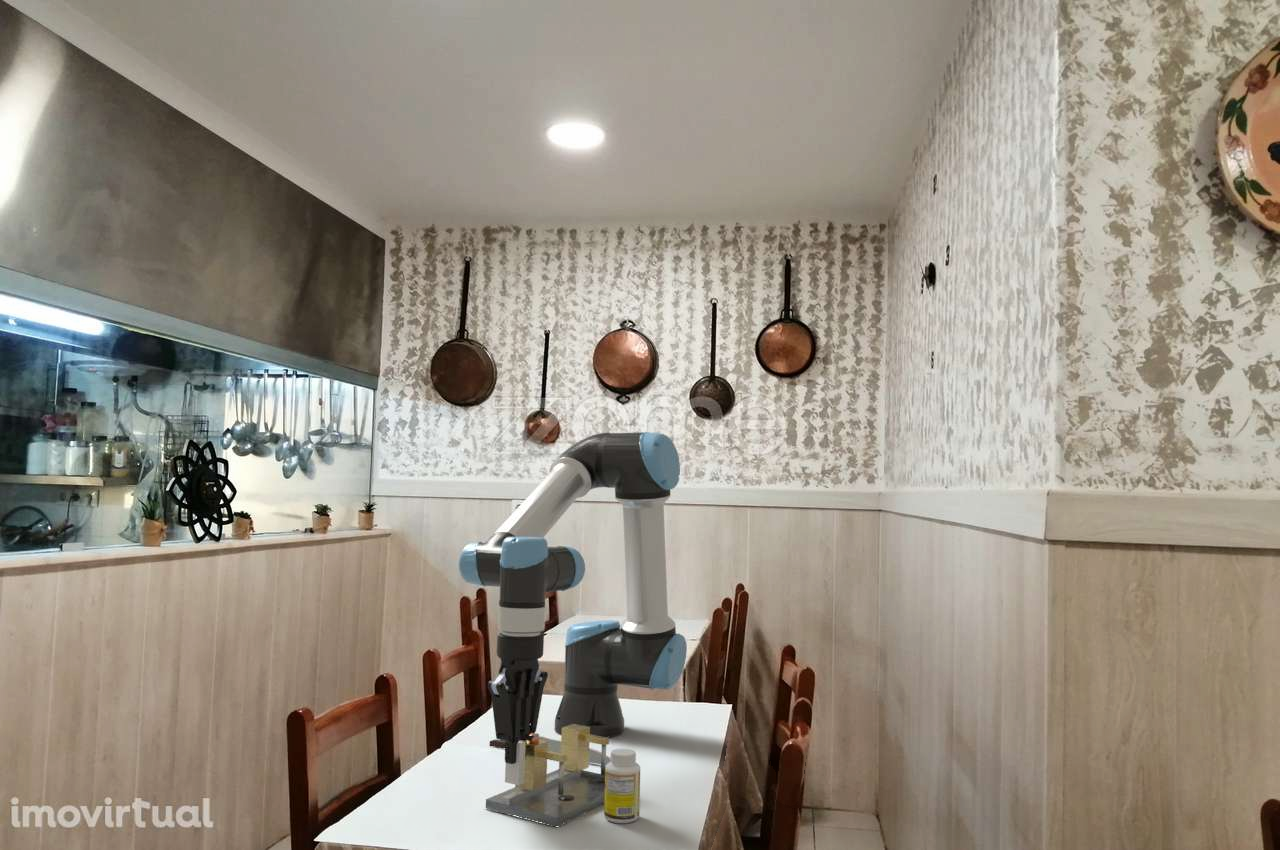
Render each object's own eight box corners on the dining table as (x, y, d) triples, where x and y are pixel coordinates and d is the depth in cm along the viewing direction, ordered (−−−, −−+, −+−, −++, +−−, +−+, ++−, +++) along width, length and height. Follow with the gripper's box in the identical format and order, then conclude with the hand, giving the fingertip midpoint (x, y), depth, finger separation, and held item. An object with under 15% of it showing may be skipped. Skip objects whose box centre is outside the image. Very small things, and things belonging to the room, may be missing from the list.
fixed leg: (571, 764, 159) (573, 723, 159) (611, 773, 154) (612, 731, 155) (560, 769, 156) (561, 727, 156) (600, 778, 151) (601, 735, 152)
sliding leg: (528, 782, 148) (530, 730, 149) (570, 792, 144) (572, 738, 144) (515, 788, 145) (517, 735, 145) (557, 798, 141) (559, 743, 141)
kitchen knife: (489, 730, 178) (622, 748, 165) (493, 728, 179) (625, 747, 166) (489, 751, 177) (622, 772, 164) (492, 750, 178) (625, 770, 165)
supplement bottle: (619, 809, 143) (621, 744, 144) (646, 818, 140) (648, 751, 141) (596, 818, 139) (598, 751, 140) (623, 827, 136) (625, 758, 136)
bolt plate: (565, 774, 161) (565, 760, 161) (631, 789, 153) (631, 774, 154) (485, 809, 142) (486, 792, 142) (556, 827, 135) (557, 810, 135)
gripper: (527, 626, 151) (521, 768, 149) (476, 634, 140) (469, 788, 138) (563, 630, 148) (557, 776, 145) (513, 639, 136) (507, 798, 134)
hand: (514, 782), depth 142 cm, fingers closed
